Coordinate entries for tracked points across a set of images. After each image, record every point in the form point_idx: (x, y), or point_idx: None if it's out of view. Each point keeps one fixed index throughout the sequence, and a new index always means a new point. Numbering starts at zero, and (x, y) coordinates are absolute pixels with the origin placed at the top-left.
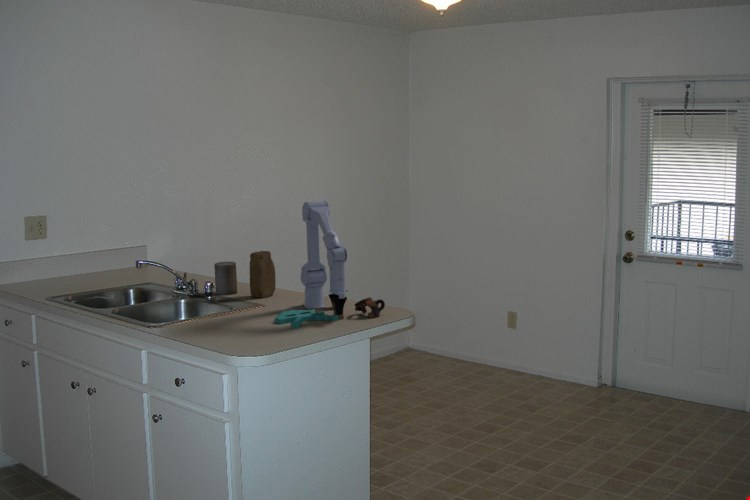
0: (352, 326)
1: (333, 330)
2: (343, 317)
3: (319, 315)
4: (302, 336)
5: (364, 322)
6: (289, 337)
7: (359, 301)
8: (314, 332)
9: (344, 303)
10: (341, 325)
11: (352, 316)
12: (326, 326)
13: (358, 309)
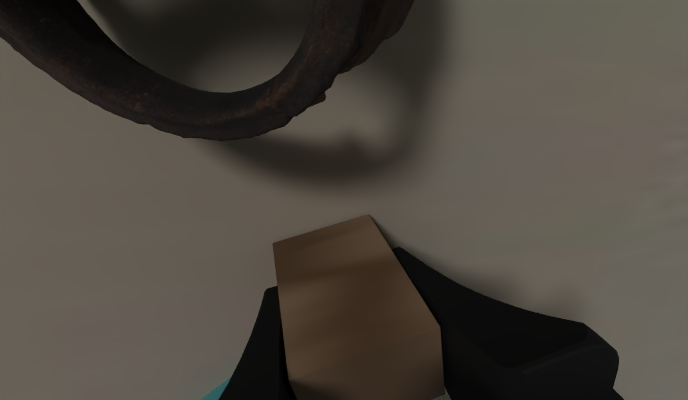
0: (640, 130)
1: (665, 247)
2: (371, 219)
3: None
4: (682, 358)
5: (564, 7)
6: (667, 396)
7: (354, 50)
8: (649, 329)
9: (506, 304)
10: (577, 212)
11: (277, 131)
12: (562, 298)
13: (122, 53)
